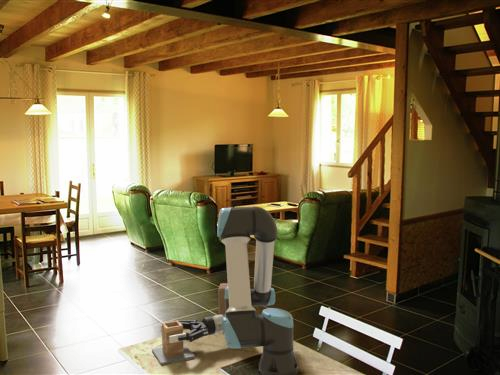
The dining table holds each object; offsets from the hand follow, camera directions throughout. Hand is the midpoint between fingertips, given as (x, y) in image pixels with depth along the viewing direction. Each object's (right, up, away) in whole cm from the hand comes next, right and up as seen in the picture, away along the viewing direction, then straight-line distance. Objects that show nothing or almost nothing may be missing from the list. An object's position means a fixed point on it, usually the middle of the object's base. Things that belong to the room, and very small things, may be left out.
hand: (164, 333), depth 199 cm
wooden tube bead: (+3, -8, +2) cm, 9 cm away
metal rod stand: (+3, -9, +2) cm, 10 cm away
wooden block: (+26, -7, +34) cm, 43 cm away
